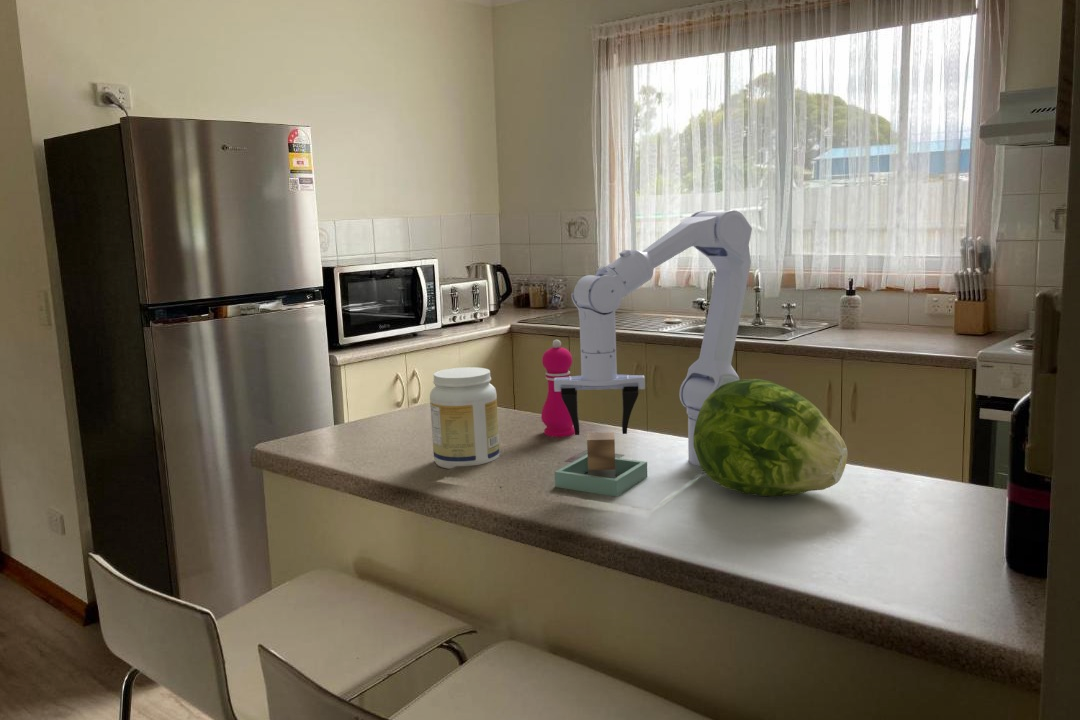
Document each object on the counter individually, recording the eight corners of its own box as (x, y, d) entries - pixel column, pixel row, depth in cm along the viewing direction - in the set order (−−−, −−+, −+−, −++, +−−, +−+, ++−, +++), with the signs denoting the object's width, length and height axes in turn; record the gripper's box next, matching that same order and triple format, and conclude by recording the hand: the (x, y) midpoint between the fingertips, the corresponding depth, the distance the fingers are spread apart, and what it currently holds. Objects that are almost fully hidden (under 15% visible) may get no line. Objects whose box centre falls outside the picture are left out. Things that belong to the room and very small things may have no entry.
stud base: (624, 460, 156) (624, 443, 155) (604, 472, 149) (603, 454, 149) (586, 455, 160) (585, 438, 159) (564, 466, 153) (564, 449, 153)
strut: (614, 478, 143) (613, 432, 142) (615, 487, 139) (614, 439, 137) (588, 479, 143) (587, 433, 142) (588, 487, 139) (587, 440, 138)
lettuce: (813, 531, 120) (846, 405, 118) (664, 479, 132) (691, 365, 130) (845, 514, 136) (873, 403, 134) (708, 470, 148) (733, 368, 146)
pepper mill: (574, 442, 169) (571, 342, 166) (538, 441, 171) (535, 342, 167) (580, 433, 176) (577, 336, 173) (545, 432, 178) (542, 337, 174)
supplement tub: (480, 449, 167) (475, 363, 164) (512, 463, 157) (508, 371, 154) (422, 460, 160) (417, 371, 158) (452, 475, 150) (446, 380, 147)
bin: (647, 482, 143) (647, 461, 142) (617, 502, 133) (616, 480, 133) (588, 473, 149) (587, 454, 148) (555, 492, 139) (554, 471, 139)
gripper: (642, 345, 141) (644, 425, 143) (554, 348, 142) (557, 427, 144) (644, 352, 134) (646, 436, 136) (552, 355, 135) (555, 438, 137)
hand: (600, 433), depth 140 cm, fingers open, 7 cm apart
